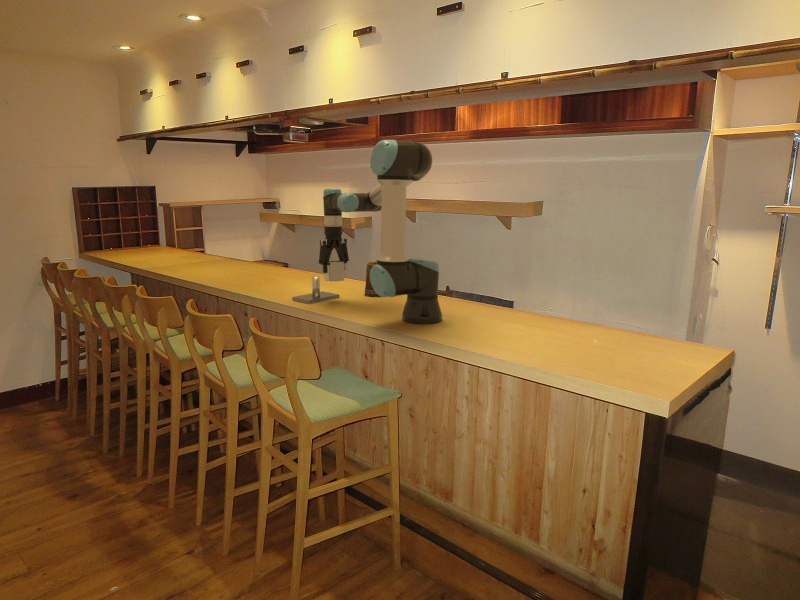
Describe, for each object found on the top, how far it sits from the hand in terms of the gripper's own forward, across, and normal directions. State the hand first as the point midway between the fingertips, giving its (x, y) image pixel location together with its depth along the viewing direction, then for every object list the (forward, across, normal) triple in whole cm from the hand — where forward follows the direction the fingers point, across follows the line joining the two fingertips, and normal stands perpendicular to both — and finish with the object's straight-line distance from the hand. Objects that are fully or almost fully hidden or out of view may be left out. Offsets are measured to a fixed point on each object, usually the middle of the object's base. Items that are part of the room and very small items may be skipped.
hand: (334, 279), depth 228 cm
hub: (0, 0, 0) cm, 0 cm away
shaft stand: (+10, +1, -11) cm, 15 cm away
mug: (+10, -25, +4) cm, 28 cm away
